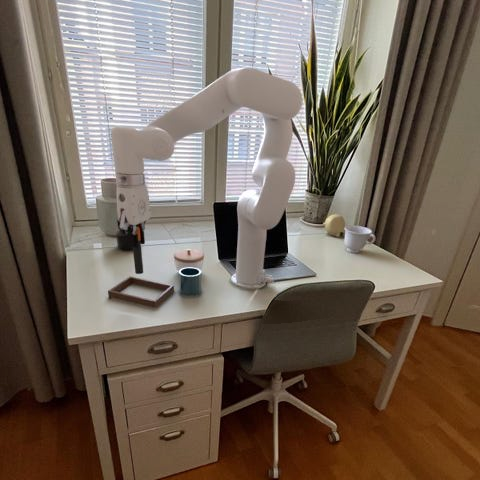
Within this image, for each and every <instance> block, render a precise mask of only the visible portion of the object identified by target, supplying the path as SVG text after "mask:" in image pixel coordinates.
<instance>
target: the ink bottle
mask: <svg viewBox="0 0 480 480" xmlns="http://www.w3.org/2000/svg"><path fill="white" fill-rule="evenodd" d="M116 222H117V223H116V224H117V229H118V230H117V231H116V233H115V235H116V243H117V248H118V249H119V250H120V251H123V252H131V251H132V252H133V247H130V246H129V245H128V237H127V233H126V231H125V230H123V229H120V222H119V219H118V218H116ZM129 226H130V225H129ZM130 227H132V226H130Z"/></svg>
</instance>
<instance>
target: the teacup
mask: <svg viewBox="0 0 480 480" xmlns="http://www.w3.org/2000/svg"><path fill="white" fill-rule="evenodd" d="M344 229H345V234H344V246H345V247H346V251H347V252H349V253H353V254H357V253H358V254H359V253H360V250H363V249H364V248H365V246H366V245H372V244H374V243H375V241H376V234H374V233H373V230H371V229H370V228H369V227H365V226H361V225H355V224H354V225H345V228H344ZM370 238H372V240H370V241H368V239H370Z"/></svg>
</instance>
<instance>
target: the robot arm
mask: <svg viewBox="0 0 480 480" xmlns="http://www.w3.org/2000/svg"><path fill="white" fill-rule="evenodd" d="M302 106H303V94H302V91H301V89H300V87H299V86H298V85H297V84H295V83H294V82H292V81H289V80H287V79H284V78H281V77H278V76H275V75H273V74H271V73H268V72H264V71H262V70H259V69H257V68H255V67H251V66H249V67H246V66H245V67H238V68H234V69H231V70H229V71H228V72H226V73H225V74H223V75H221V76H219V78H217V79H216V80H215V81H213V82H212V83H210V84H209V85H207V86H206V87H204V88H203V89H201V90H200V91H198V92H197V93H195V94H194V95H192V96H191V97H188V98H187V99H186V100H184V101H183V102H181V103H179V104H178V105H177V106H175V107H173V108H171V109H170V110H168V111H166V112H165V113H164V114H162V115H161V116H159V117H157V118H156V119H154V120H153V121H152V122H150V123H149V124H148V125H146V126H144V127H143V129H138V128H136V127H132V126H115V127H112V129H111V130H110V139H111V148H112V156H113V165H114V173H115V175H114V176H115V183H116V213H117V219H119V222H120V229H123V230H125V231H126V233H127V237H128V245H129V246H130V247H135V248H138V247H139V242H138V234H136V227H139V228H140V238H141V245H145V244H146V241H145V229H146V222H147V220H149V219H151V217H152V212H151V211H152V210H151V202H150V196H149V191H148V186H147V183H146V175H145V162H144V160H151V161H156V162H163V161H167V160H168V159H170V158H171V157H172V156H173V154H174V152H175V143H177V142H179V141H180V140H182V139H184V138H186V137H188V136H192V135H194V134H199V133H204V132H206V131H209V130H210V129H213V128H214V127H215V126H216V125H218V124H219V123H220V122H222V121H223V120H225V119H227V118H228V117H230V116H231V115H232V114H234V113H236V112H237V111H238V110H240V109H241V108H246V109H250V110H253V111H255V112H258V113H259V114H260V116H261V119H262V122H263V129H264V131H263V136H262V140H261V142H260V143H261V144H260V146H259V150H258V153H257V155H256V159H255V161H254V163H253V167H252V171H251V173H252V174H251V177H252V180H253V182H254V183H255V184H256V185H258V186H259V187H261V189H260V190H258V189H248V190H245V191H244V192H243V193H242V194H240V196H239V198H238V200H237V206H236V212H237V224H238V225H237V226H238V227H237V229H238V230H237V247H236V261H235V265H236V266H235V273H234V274H233V275H232V276H231V278H230V281H231V283H232V284H233V285H234V286H236V287H238V288H243V289H249V290H251V289H257V290H259V289H261V288H263V287H264V286H266V283H268V284H274V281H275V278H274V277H273V275H271V274H267V273H266V270H265V269H264V263H265V254H266V253H265V252H266V242H267V231H268V230H272V229H273V228H275V227H276V226H277V225H278V224H279V223H280V221H281V219H282V217H283V215H284V213H285V211H286V207H287V205H288V202H289V199H290V197H291V195H292V192H293V190H294V188H295V184H296V170H295V167H294V166H293V164H292V162H291V161H289V160H287V157H288V155H289V151H290V148H291V145H292V141H293V131H294V130H293V123H292V119H294V118H295V117H296V116H297V115H298V114H299V113H300V111H301V109H302ZM129 225H130V226H132V228H131V227H130V226H129Z"/></svg>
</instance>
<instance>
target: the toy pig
mask: <svg viewBox="0 0 480 480" xmlns="http://www.w3.org/2000/svg"><path fill="white" fill-rule="evenodd" d="M322 225H323V227H324V230H325V235H329V236H334V237H336V238H342V237H343V236H345V229H344V228H345V227H346V221H345V218H344V217H343V216H342V215H341V214H338V213H334V214H331V215H329V216H328V217H326V219H325V221H324V222H323V224H322Z"/></svg>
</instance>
